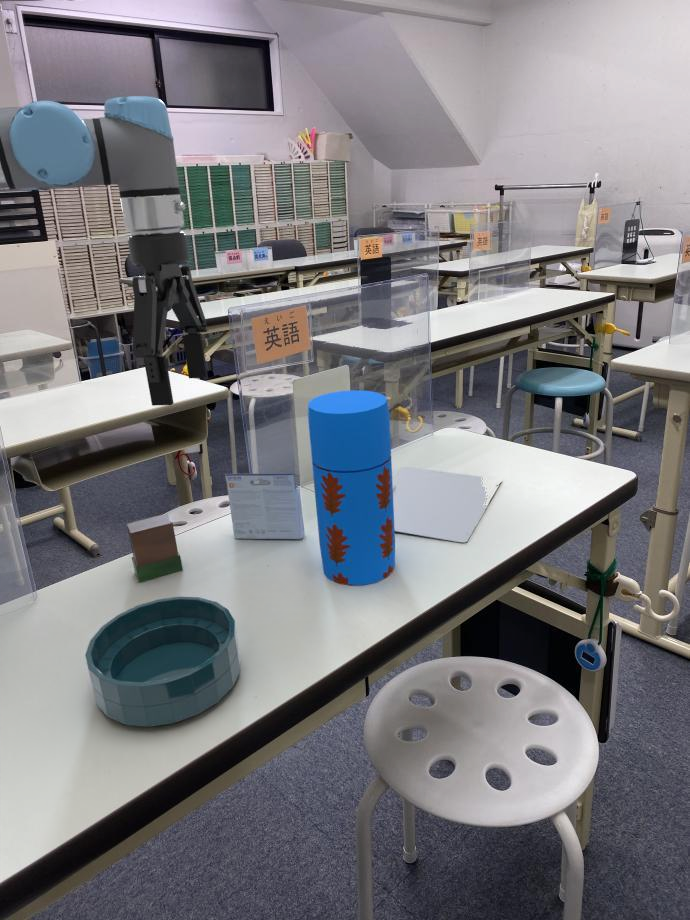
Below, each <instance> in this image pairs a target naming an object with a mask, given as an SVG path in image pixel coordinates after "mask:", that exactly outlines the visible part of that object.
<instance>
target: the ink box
mask: <svg viewBox="0 0 690 920" xmlns="http://www.w3.org/2000/svg"><path fill="white" fill-rule="evenodd" d="M224 478H225V481H226V482H225V483H226V487H227V488H226V490H227V495H228V503H229V509H230V517H231V524H232V530H233V535H234V536H233V538H234V539H235V540H240V539H242V540H303V539H304V536H305V534H306V533H305V523H304V515H303V506H302V498H301V488H300V486H296V477H295V473H294V472H283V473H281V472H279V473H278V472H276V473H275V472H273V473H272V472H271V473H269V472H268V473H267V472H265V473H225V474H224ZM259 480H262V481H264V482H265V481H268V482H269V483H253V482H254V481H255V482H256V481H259Z"/></svg>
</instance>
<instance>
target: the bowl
mask: <svg viewBox="0 0 690 920" xmlns="http://www.w3.org/2000/svg"><path fill="white" fill-rule="evenodd" d="M85 661H86V664H87V665H86V666H87V670H88V673H89V677H90V682H91V685H92V689H93V694H94V697H95V701H96V705H97V707H98V708H99V710H100V711H102V712H103V714H105V716H106V717H107V718H108V719H111V720H113V721H116V722H118V723H120V724H124V725H126V726H136V727H137V726H138V727H151V728H152V727H156V726H162V725H170V724H175V723H178V722H180V721H184V720H186V719H189V718H192V717H195V716H197V715H200V714H201V713H203V712H204V711H206V710H208V709H209V708H211V707H212V706H214V705H215V704H217V703H218V702H220V701H221V699H223V698H224V696H225V695H226V694H227V693H228V692H229V691H230V690H231V689H232V688H233V687H234V685H235V683H236V681H237V679H238V676H239V675H240V672H241V652H240V645H239V639H238V633H237V626H236V620H235V618H234V616H233V615H232V613H231V612H230V610H229V609H228V608H226V607H225V606H224V605H222V604H221V603H219V602H218V601H215V600H211V599H207V598H205V597H200V596H172V597H166V598H159V599H155V600H152V601H147V602H144V603H141V604H138V605H135V606H133V607H132V608H129V609H127V610H125V611H123V612H121V613H119V614H117V615H115V616H114V617H113V618H112V619H110V620H109V621H107V622H106V623H104V624H103V625H102V626H101V627H100V628H99V629H98V631H96V632H95V634H94V635H93V636H92V638H91V639H90V640H89V643H88V646H87V649H86V652H85Z"/></svg>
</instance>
